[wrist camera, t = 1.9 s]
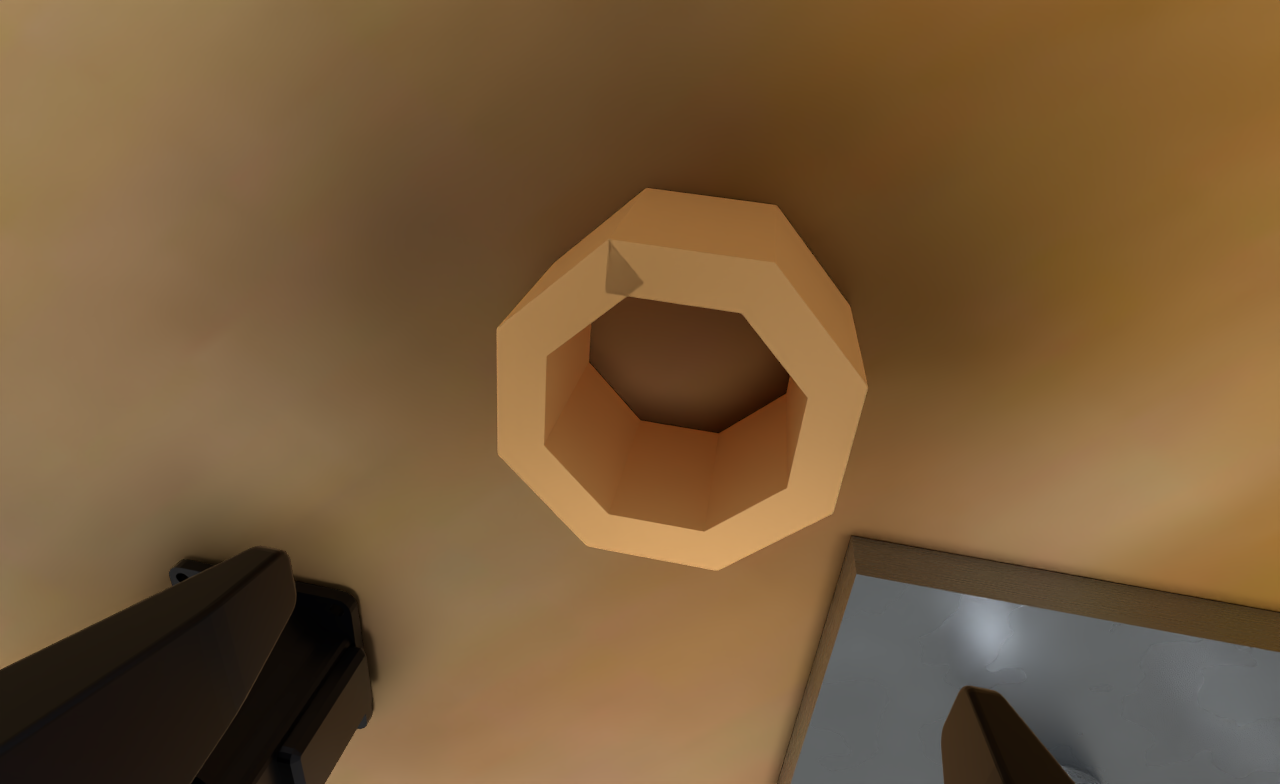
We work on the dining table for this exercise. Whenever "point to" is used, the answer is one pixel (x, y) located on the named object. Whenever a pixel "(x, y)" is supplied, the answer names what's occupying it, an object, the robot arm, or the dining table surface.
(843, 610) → the piston stand
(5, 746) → the robot arm
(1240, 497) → the dining table surface
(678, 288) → the collar
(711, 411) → the dining table surface
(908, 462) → the dining table surface
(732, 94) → the dining table surface
